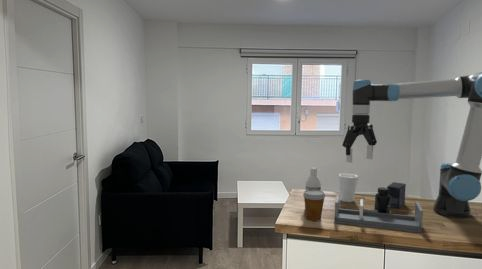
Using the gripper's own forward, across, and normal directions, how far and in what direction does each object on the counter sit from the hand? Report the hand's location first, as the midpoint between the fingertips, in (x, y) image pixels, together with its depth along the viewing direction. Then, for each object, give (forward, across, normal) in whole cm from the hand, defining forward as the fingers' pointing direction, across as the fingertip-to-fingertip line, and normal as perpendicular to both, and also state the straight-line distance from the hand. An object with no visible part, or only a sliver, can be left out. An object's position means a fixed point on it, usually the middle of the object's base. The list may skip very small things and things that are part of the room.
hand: (359, 160), depth 171 cm
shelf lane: (+24, +4, +13) cm, 28 cm away
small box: (+25, -24, +3) cm, 34 cm away
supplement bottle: (+24, -7, +8) cm, 27 cm away
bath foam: (+24, +16, -13) cm, 32 cm away
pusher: (+23, +6, +11) cm, 26 cm away
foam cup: (+24, -10, -15) cm, 30 cm away
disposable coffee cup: (+24, +25, -3) cm, 35 cm away
